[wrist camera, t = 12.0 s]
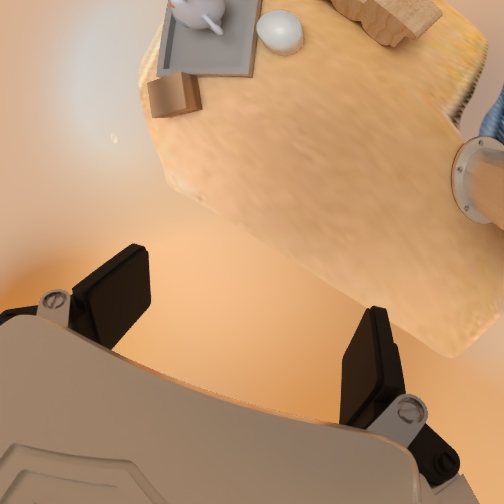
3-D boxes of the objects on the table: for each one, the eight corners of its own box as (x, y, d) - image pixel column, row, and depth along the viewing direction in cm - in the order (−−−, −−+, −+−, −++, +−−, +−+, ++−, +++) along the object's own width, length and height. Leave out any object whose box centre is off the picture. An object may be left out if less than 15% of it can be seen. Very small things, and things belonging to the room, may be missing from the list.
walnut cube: (197, 76, 32) (180, 71, 28) (202, 109, 34) (186, 108, 30) (166, 86, 33) (147, 83, 29) (171, 117, 35) (152, 117, 31)
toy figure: (178, 11, 27) (130, -16, 17) (213, -13, 25) (174, -50, 14) (213, 56, 30) (169, 33, 19) (252, 32, 27) (222, -4, 17)
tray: (266, -29, 23) (262, -36, 21) (252, 77, 31) (248, 74, 29) (180, -21, 25) (174, -26, 23) (164, 78, 33) (156, 76, 31)
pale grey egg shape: (305, 25, 26) (302, 11, 22) (301, 57, 28) (298, 47, 24) (266, 22, 27) (258, 8, 22) (262, 54, 29) (254, 43, 25)
